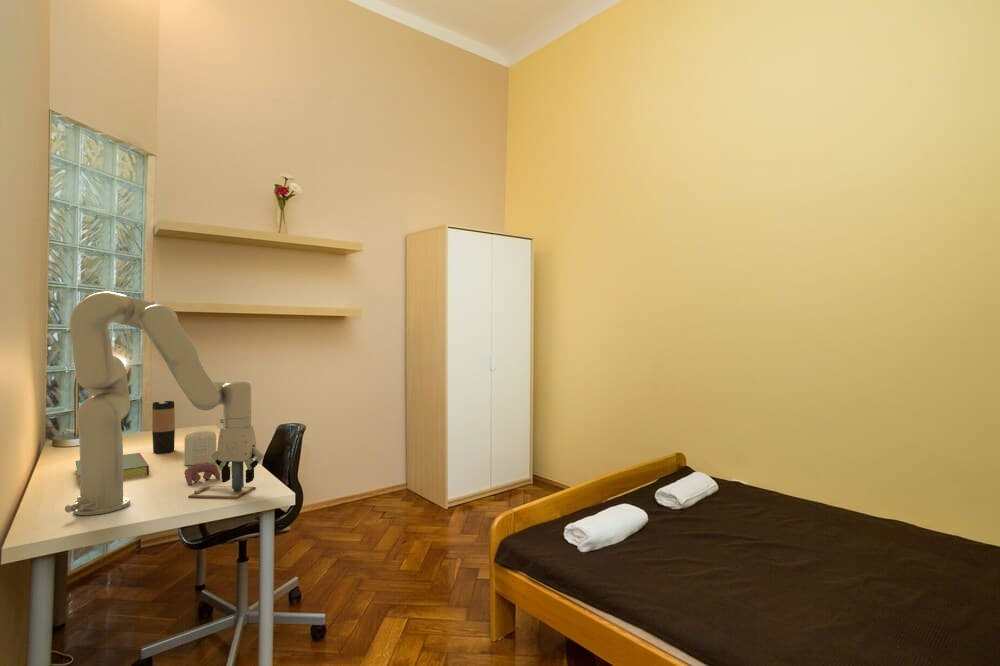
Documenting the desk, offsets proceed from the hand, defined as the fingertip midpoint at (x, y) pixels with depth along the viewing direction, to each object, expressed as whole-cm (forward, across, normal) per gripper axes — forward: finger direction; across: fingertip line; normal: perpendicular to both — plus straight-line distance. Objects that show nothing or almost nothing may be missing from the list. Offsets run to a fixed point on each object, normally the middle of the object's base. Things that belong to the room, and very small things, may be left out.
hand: (237, 481), depth 159 cm
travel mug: (+4, -60, +48) cm, 77 cm away
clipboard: (+4, -4, 0) cm, 6 cm away
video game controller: (+4, -19, +11) cm, 22 cm away
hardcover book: (+4, -57, +19) cm, 60 cm away
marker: (+3, 0, 0) cm, 3 cm away
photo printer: (+4, -33, +32) cm, 46 cm away
